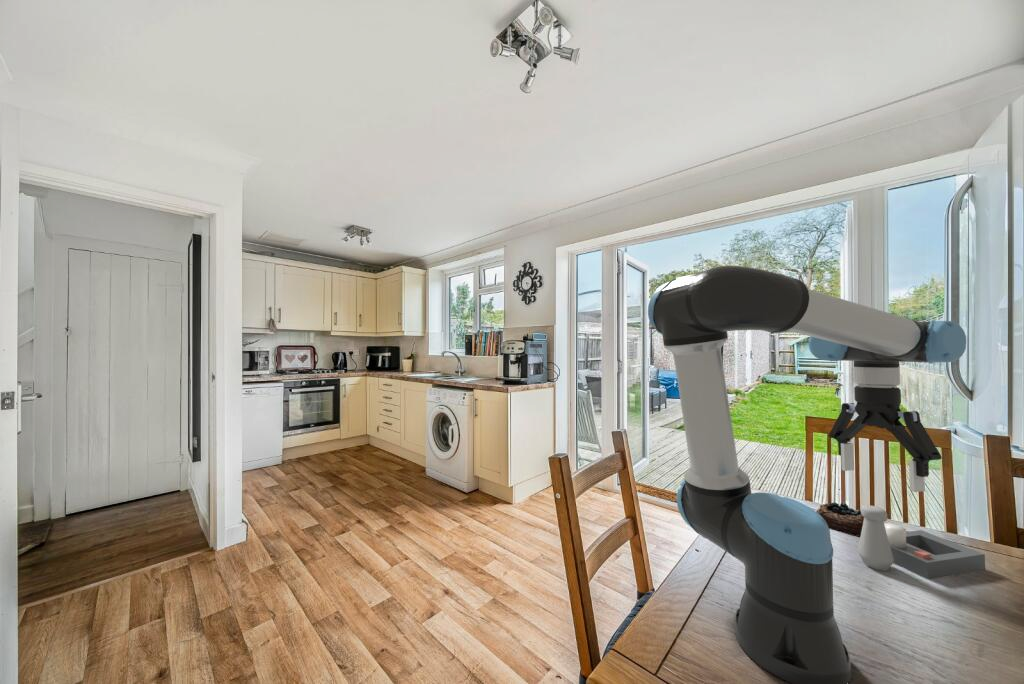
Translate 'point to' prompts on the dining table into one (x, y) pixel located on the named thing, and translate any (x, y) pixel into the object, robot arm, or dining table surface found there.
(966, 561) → the grey rimmed tray
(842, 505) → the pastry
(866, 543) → the salt shaker
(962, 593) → the dining table surface
